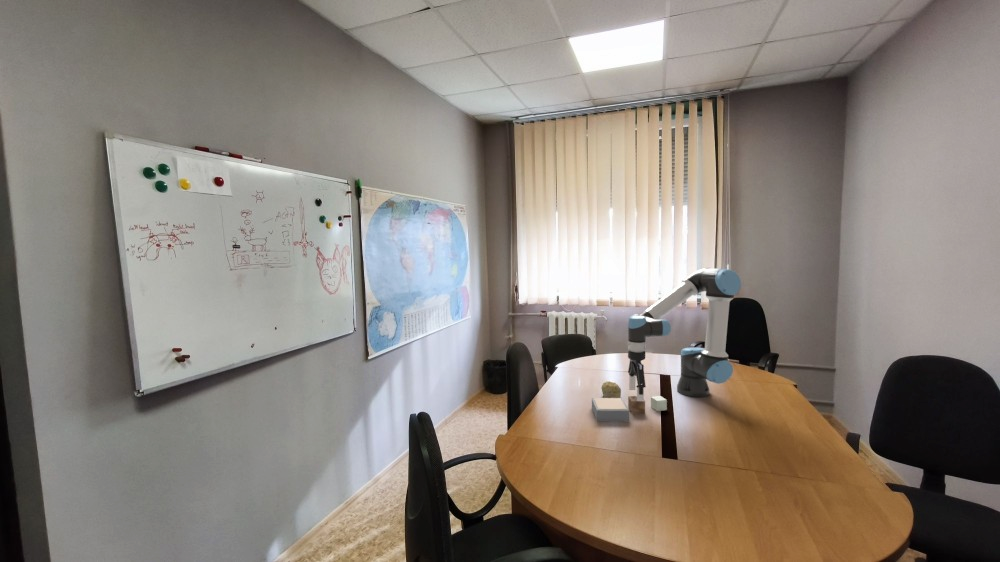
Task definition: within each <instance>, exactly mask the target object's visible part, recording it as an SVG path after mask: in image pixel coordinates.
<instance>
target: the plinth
mask: <svg viewBox="0 0 1000 562" xmlns="http://www.w3.org/2000/svg"><path fill="white" fill-rule="evenodd" d="M625 402H626V401H625V400H624V399H623V397H621V398H605V397H591V409H592V412H593V414H594V417H595V420H596V422H630V410H629V409H628V406H627V405H626V403H625Z"/></svg>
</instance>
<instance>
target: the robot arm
mask: <svg viewBox="0 0 1000 562" xmlns="http://www.w3.org/2000/svg"><path fill="white" fill-rule="evenodd" d="M741 286H742V280H741V277H740V275H739V274H738V273H737V272H736V271H734V270H732V269H728V268H716V267H715V268H714V267H705V268H701V269H698V270H696V271H694V272H693V273H691V274H690V275H688V276H686V277H685V278H684V279H683V280H681V283H680V284H679V285H678V286H677V287H675V288H674V289H672V290H671V291H670V292H668V293H667V294H666V295H664V296H663V297H661V298H659V300H658V301H656V302H655V303H654V304H652V305H651V306H649V307H648V308H646V309H645V310H644V311H642V312H641V313H634V314H632V315H631V316H630V317H629V318H628V323H627V328H628V329H627V331H628V332H627V333H628V334H627V339H628V340H627V341H628V342H627V343H626V345H627V346H628V350H627V358H628V359H629V365H628V375H629V378H628V379H629V380H628V381H629V384H628V386H629V387H628V388H629V389H628V390H629V391H636V396H637V401H645V399H644V397H645V388H646V387H647V386H646V379H645V370H644V369H645V367H644V364H643V363H642V361H644V360H646V347H647V346H646V343H647V342H646V338H648V337H664V336H668V335H670V333H671V332H672V330H671V329H672V328H671V327H672V325H671V323H670V321H668V319H662V318H663V317H664V316H666V315H668V314H669V313H670V312H672V311H673V310H674V309H676V308H677V307H678V306H680V305H682V304H683V303H685V302H686V301H687V300H688V299H689V298H691V297H693V296H697V295H698V294H700V293H703V292H705V297H706V298H707V299H708V306H707V307H708V308H707V317H706V318H707V320H706V330H705V331H706V332H705V341H704V347H693V346H692V347H685V348H682V349H681V352H680V377H679V379H678V382H677V385H676V391H677V392H678V393H680V394H681V395H683V396H688V397H693V398H694V397H695V398H705V397H708V396H709V395H710V386H709V384H708V382H707V381H709V382H711V383H715V384H719V385H720V384H724V383H727V382H728V380H730V379H731V377H732V376H733V373H734V367H733V365H732V363H731V362H730V361H729V354H728V353H727V352H726V346H727V345H726V344H727V334H728V322H729V314H730V313H729V312H730V302H731V301H732V300H733V299H735V297H734V296H735V295H736V294H738V292H739V291H740V289H741ZM636 383H637V384H636Z"/></svg>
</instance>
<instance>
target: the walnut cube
mask: <svg viewBox="0 0 1000 562" xmlns="http://www.w3.org/2000/svg"><path fill="white" fill-rule="evenodd" d="M627 403H628V404H627V405H628V406H627V407H628V409H629V413H630V414H631V415H633V414H634V415H635V414H636V415H638V414H639V415H643V414H645V415H646V401H645V400H644V401H637V395H630V396H629V395H628V399H627Z"/></svg>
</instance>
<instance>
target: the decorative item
mask: <svg viewBox="0 0 1000 562" xmlns="http://www.w3.org/2000/svg"><path fill="white" fill-rule="evenodd" d="M600 388H601V392H602V396H603V398H622V397H621V396H622V395H621V394H622V388H621V386H620V385H619V384H617V383H616V382H612V381H604V383H602V385H601V387H600Z"/></svg>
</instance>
